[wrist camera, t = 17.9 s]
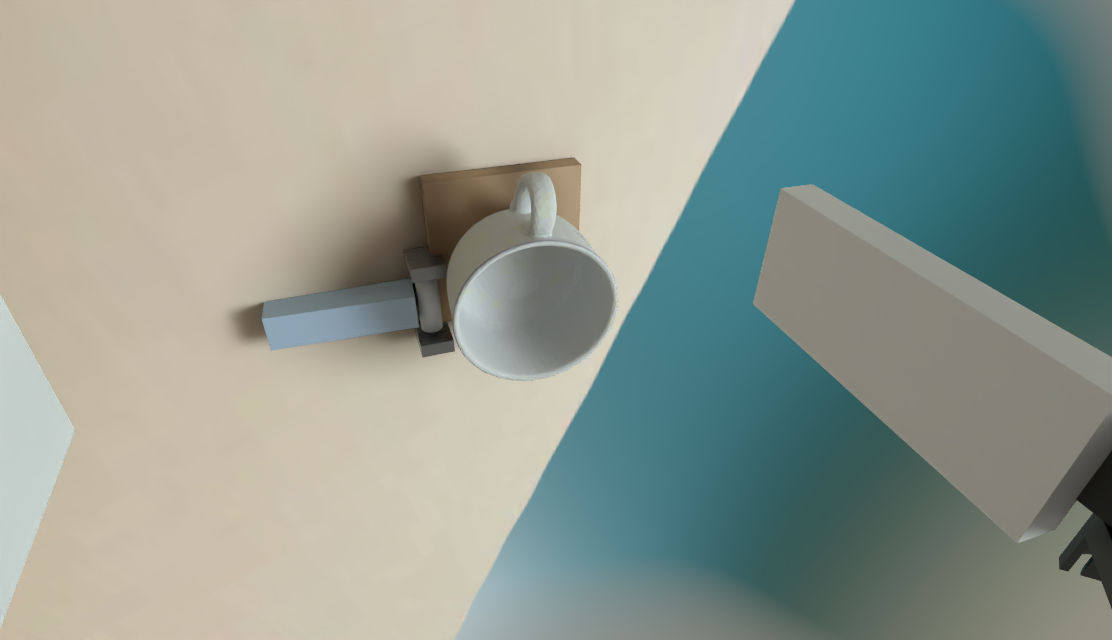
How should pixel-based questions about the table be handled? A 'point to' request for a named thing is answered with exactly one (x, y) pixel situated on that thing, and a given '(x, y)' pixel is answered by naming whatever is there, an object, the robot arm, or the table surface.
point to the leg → (352, 313)
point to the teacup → (528, 289)
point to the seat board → (486, 203)
